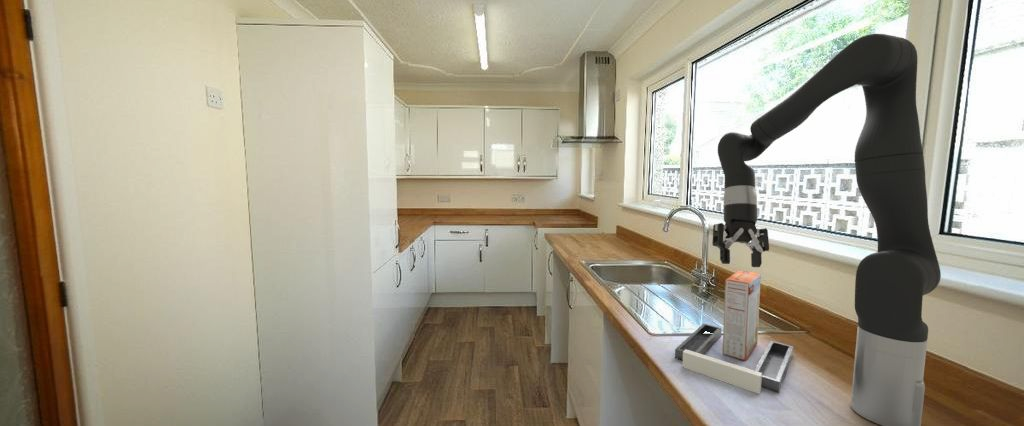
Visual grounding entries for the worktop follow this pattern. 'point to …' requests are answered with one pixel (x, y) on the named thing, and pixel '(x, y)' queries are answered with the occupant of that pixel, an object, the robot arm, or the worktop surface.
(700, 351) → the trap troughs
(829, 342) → the worktop surface
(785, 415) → the worktop surface
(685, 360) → the bar
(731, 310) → the cracker box
